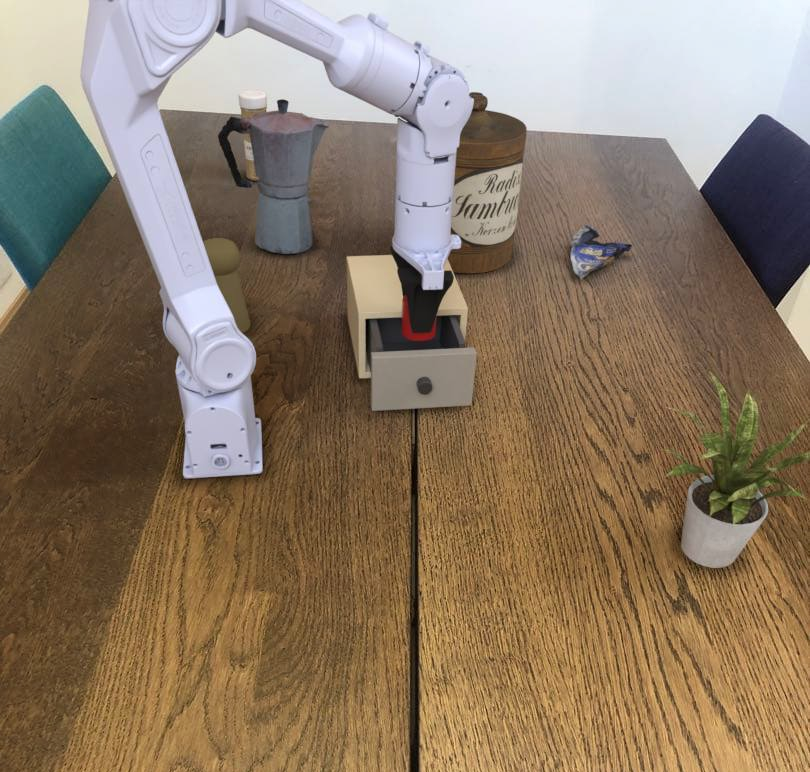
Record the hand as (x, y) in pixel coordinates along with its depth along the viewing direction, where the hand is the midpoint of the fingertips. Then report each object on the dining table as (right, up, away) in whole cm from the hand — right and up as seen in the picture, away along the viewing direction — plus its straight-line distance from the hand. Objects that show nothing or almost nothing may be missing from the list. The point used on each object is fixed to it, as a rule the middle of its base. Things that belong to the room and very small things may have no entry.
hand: (418, 321), depth 90 cm
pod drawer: (0, -5, +6) cm, 8 cm away
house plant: (+27, -24, -11) cm, 38 cm away
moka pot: (-20, +21, +34) cm, 45 cm away
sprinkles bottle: (-27, +40, +54) cm, 72 cm away
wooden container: (+7, +19, +34) cm, 40 cm away
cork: (-25, +4, +16) cm, 30 cm away
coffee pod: (0, -1, +1) cm, 1 cm away
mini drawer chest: (-2, +1, +14) cm, 14 cm away
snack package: (+27, +17, +33) cm, 46 cm away
